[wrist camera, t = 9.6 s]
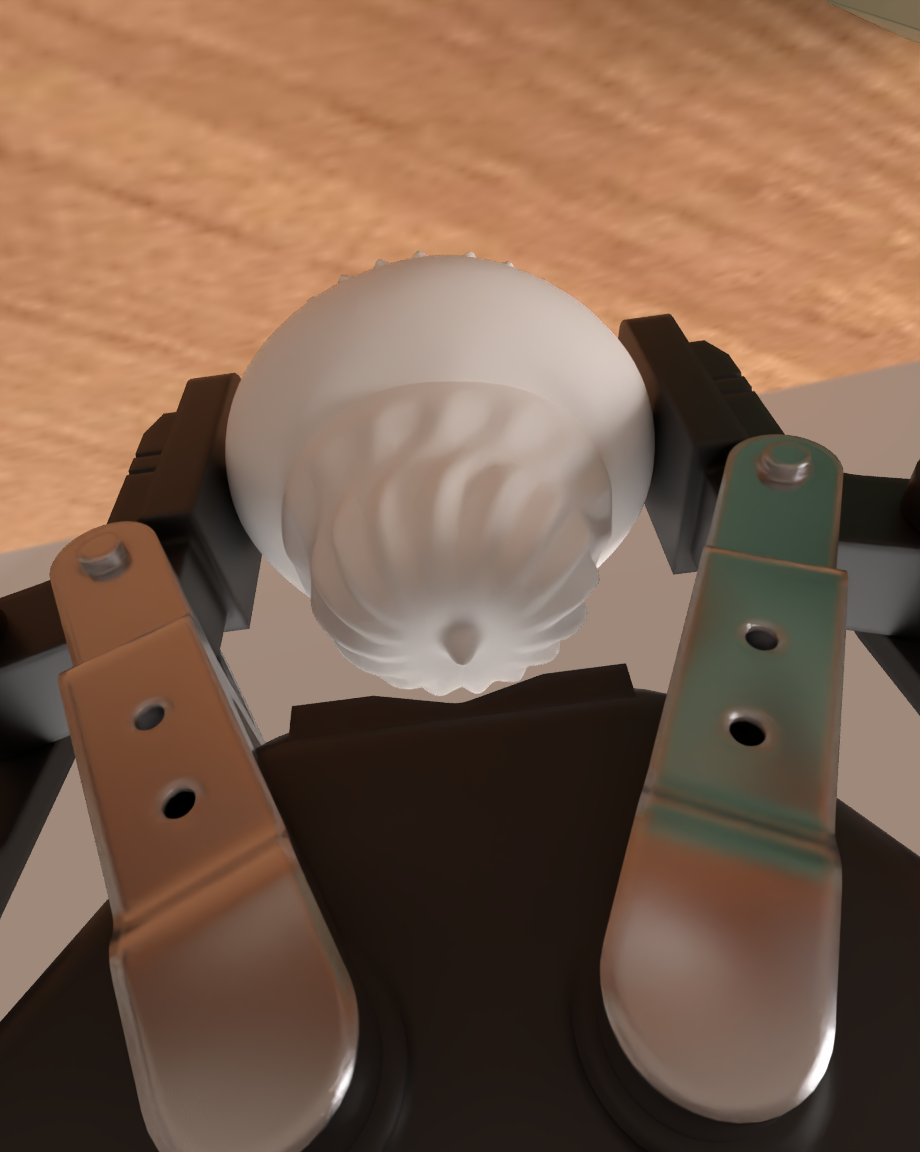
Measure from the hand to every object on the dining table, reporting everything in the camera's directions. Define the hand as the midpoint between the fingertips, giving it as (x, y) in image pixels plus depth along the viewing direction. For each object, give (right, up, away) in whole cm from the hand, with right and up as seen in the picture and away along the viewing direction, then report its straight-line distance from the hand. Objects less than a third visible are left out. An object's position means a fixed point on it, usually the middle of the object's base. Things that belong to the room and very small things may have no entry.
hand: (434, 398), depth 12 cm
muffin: (0, +1, +1) cm, 2 cm away
